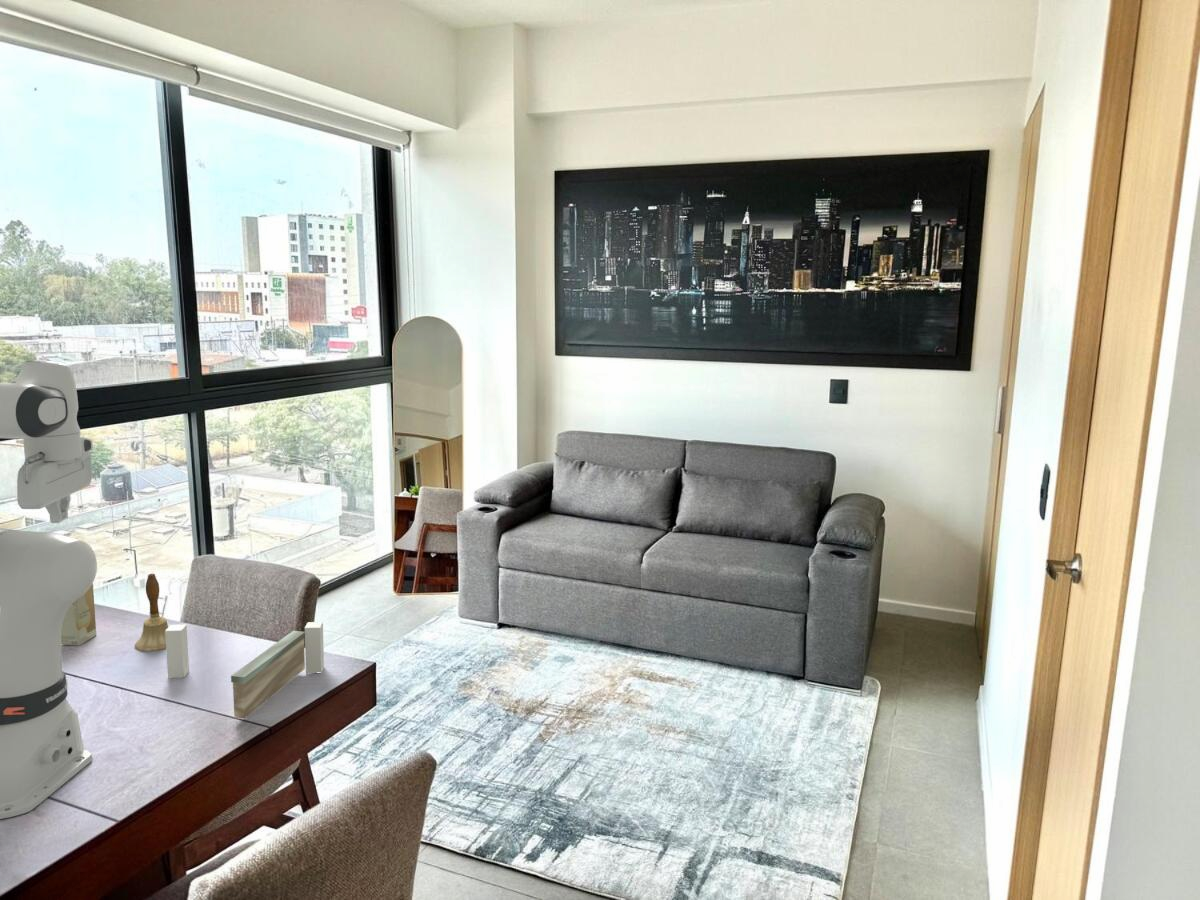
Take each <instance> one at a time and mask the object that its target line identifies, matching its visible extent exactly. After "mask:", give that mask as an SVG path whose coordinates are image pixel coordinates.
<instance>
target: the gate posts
mask: <svg viewBox="0 0 1200 900" xmlns="http://www.w3.org/2000/svg"><path fill="white" fill-rule="evenodd" d="M187 625H188V624H170V625H169V626H168V628H167V629H166V630H165V636H166V649H165V650H166V666H167V667H166V668H167V678H168V679H179V678H180V679H184V678H185V677H186V675H188V673H189V672H190V665H189V664H190V663H189V661H190V659H189V645H188V644H189V642H188V628H187V627H188V626H187ZM304 632H305V638H304V655H305V675H309V674H308V673H317V672H321V671H322V669H323V667H324V668H325V656H324V655H325V654H324V653H325V652H324V622H323V621H311V622H310V621H309V622H307V623H306V625H305V626H304ZM323 670H324V669H323ZM322 672H323V671H322ZM182 677H183V678H182Z"/></svg>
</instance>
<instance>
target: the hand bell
mask: <svg viewBox="0 0 1200 900" xmlns="http://www.w3.org/2000/svg"><path fill="white" fill-rule="evenodd" d="M145 593H146V597H147V599H148V602H149V614H150V617H148V618H147V619H145V620H144V621H143V627H142V633H141V635H140V638H139V639H138V640H137V641H136V642H135V643H134V648H135V649H136V650H137V651H140V652H141V651H142V652H157V651H163V650H166V636H165V630H166V629H167V628H168V627H169V626H168V620H167V618H166V617H163V616H160V611H159V604H158V603H159V601H158V600H159V596H160V584H159V581H158V579H157V577H156V574H155V573H148V575H147V578H146V582H145Z"/></svg>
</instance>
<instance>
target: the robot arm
mask: <svg viewBox="0 0 1200 900" xmlns="http://www.w3.org/2000/svg"><path fill="white" fill-rule="evenodd" d="M19 370H20V371H19V374H18V376H16V377H15V378H14V379H12V380H9V382H0V439H12V440H13V439H14V440H15V439H18V440H19V439H21V440H23V451H24V463H23V464H22V465H21V467H20V468H19V469H18V471H17V476H16V477H17V478H16V481H17V482H16V483H17V484H16V485H17V486H16V492H17V493H16V497H17V498H16V499H17V504H18V506H19V507H20V509H21V510H40V509H43V508H45V509H46V510H47V511H46V512H47V513H48V514H49V521H50V523H52V524H60V523H61V522H64V521H65V520H68V518H69V512H68V511H69V508H70V503H71V495H73V494H74V493H75V494H76V493H77V492H79V491H81V490H83V489H85V488H87V487H89V486H90V485H91V483H92V478H93V460H92V454H91V451H92V450H93V447H94V445H93V440H92V439H91V438H87V437H84V436H82V435H81V428H80V426H79V423H78V420H77V419H78V418H77V417H78V412H79V401H78V392H77V391H78V390H77V386H76V385H77V384H76V380H75V377H74V373H73V370H72V368H71V366H69V365H68V364H66V363H63V362H61V361H55V360H52V361H50V360H49V361H48V360H44V359H42V360H40V359H39V360H38V359H37V360H36V359H35V360H34V359H32V360H26V361H22V362H21V365H20V369H19ZM97 570H98V561H97V557H96V554H95V552H94V550H93V548H92V546H91V545H90V544H89V543H87V542H85V541H83V540H80V539H78V538H75V537H71V536H68V535H64V534H60V533H57V532H43V531H33V530H32V531H31V530H30V531H29V530H18V529H9V528H2V527H0V820H2V819H3V820H4V819H8V818H12V817H16V816H20V815H23V814H25V813H29V812H31V811H33V809H35V808H36V807H38V805H40V804H41V803H43V801H45V800H46V799H48V798H49V797H50V796H51V795H52V794H53V793H55V792H56V791H57V790H58V789H59V788H61V787H62V786H63V785H65V783H66V782H68V781H69V780H70V779H72V778H73V777H74V776H75V775H76V774H78V773H79V772H80V771H81V770H83V769H84V768H85V767H86V766H87V765H89V764H90V763H91V762H92V761H93V760H94V758H93V755H92V752H91V751H90V750H88V749H85V748H84V744H83V738H82V731H81V726H80V722H79V716H78V713H77V712H76V710H74V709H73V707H72V706H71V705H70V703H69V701H68V699H67V696H68V679H67V677H66V673H65V671H63V664H62V645H61V628H62V623H63V620H64V617H65V615H66V613H67V611H68V609H69V608H70V606H71V605H72V604H73V603H74V602H75V601H76V600H77V599H79V598H80V597H81V596H83V595H84V594H85V593H86V592H87V591H88V589H89V588H90V587H91V585H92V583H93V584H94V581H95V579H96V576H97V572H98V571H97Z"/></svg>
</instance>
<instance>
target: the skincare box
mask: <svg viewBox="0 0 1200 900" xmlns="http://www.w3.org/2000/svg"><path fill="white" fill-rule="evenodd" d="M95 635H96V636H97V623H96V610H95V596H94V582H93V583H92V585H91V587H90V588H89V589H88V591H87V592H86V593H85V594H84V595H83V596H81V597H80V598H79V599H77V600H76V601H75V602H74V603H73V604H72V605H71V606H70V608H69V609H68V611H67V613H66V615H65V617H64V620H63V623H62V628H61V646H62V645H64V646H65V645H66V646H67V645H68V646H70V645H71V646H81V645H82V644H84V643H86V642H87V641H90V639H92V638H94V637H95Z"/></svg>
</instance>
